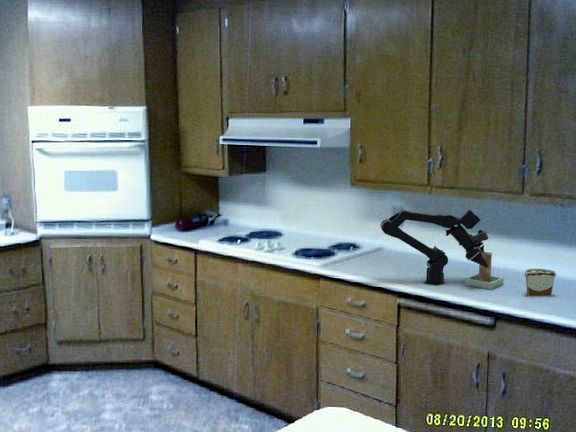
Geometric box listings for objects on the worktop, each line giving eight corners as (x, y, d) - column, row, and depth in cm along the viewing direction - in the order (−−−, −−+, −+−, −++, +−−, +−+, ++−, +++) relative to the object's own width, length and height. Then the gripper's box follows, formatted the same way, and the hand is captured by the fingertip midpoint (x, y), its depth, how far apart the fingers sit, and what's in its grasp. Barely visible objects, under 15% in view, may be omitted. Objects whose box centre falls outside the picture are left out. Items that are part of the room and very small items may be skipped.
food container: (548, 292, 262) (549, 268, 261) (555, 296, 256) (556, 271, 255) (518, 292, 262) (519, 268, 260) (524, 296, 256) (525, 272, 254)
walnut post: (478, 284, 272) (479, 253, 270) (479, 281, 276) (480, 251, 274) (489, 285, 270) (491, 254, 268) (490, 282, 275) (491, 252, 273)
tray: (465, 285, 273) (465, 278, 272) (477, 280, 282) (477, 273, 281) (491, 290, 265) (491, 283, 265) (503, 284, 274) (503, 278, 274)
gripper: (475, 228, 262) (502, 256, 260) (479, 221, 280) (504, 248, 277) (454, 245, 266) (481, 274, 264) (459, 238, 284) (484, 264, 281)
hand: (488, 264), depth 272 cm, fingers open, 9 cm apart
